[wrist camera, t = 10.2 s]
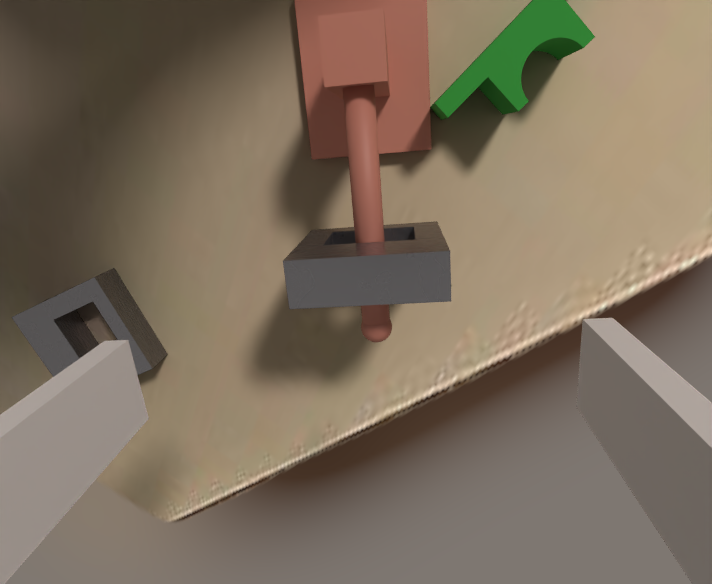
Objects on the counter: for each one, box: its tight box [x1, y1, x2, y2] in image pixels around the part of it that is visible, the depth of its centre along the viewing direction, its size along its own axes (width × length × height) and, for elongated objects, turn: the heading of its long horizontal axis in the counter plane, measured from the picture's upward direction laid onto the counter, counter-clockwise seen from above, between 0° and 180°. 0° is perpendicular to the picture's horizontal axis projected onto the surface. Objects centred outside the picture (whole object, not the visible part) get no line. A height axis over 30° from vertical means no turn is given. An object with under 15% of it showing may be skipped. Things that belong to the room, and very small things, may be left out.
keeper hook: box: [295, 0, 431, 342], centre depth 28 cm, size 20×8×10 cm, turn 5°
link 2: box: [283, 222, 451, 309], centre depth 26 cm, size 2×8×8 cm, turn 95°
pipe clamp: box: [430, 0, 595, 120], centre depth 28 cm, size 11×4×5 cm, turn 136°
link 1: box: [12, 268, 167, 377], centre depth 37 cm, size 8×8×2 cm
